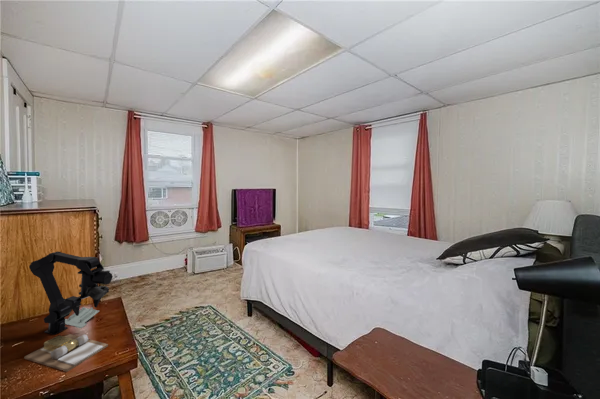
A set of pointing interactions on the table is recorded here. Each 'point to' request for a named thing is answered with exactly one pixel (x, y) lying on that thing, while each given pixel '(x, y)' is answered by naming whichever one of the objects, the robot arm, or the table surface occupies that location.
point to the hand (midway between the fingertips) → (86, 311)
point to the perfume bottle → (60, 343)
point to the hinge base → (67, 353)
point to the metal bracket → (81, 317)
